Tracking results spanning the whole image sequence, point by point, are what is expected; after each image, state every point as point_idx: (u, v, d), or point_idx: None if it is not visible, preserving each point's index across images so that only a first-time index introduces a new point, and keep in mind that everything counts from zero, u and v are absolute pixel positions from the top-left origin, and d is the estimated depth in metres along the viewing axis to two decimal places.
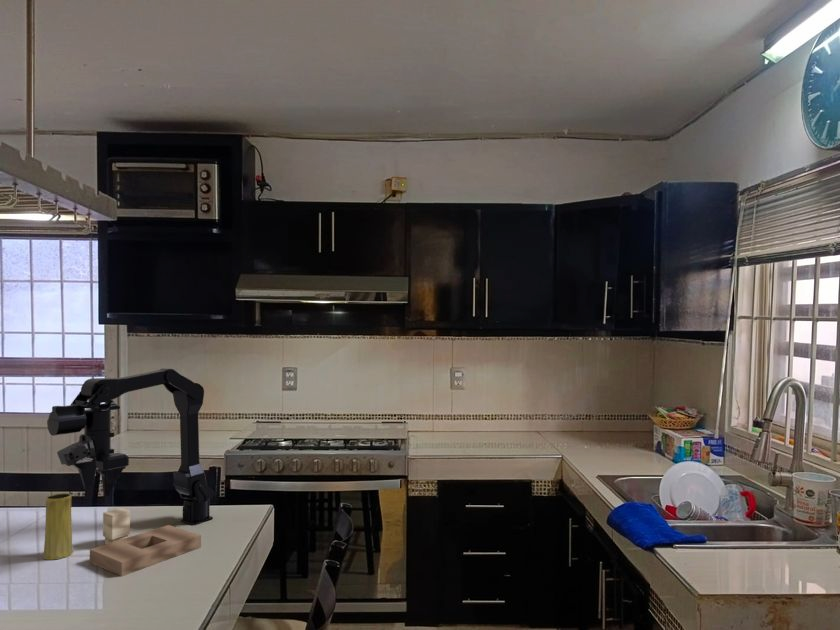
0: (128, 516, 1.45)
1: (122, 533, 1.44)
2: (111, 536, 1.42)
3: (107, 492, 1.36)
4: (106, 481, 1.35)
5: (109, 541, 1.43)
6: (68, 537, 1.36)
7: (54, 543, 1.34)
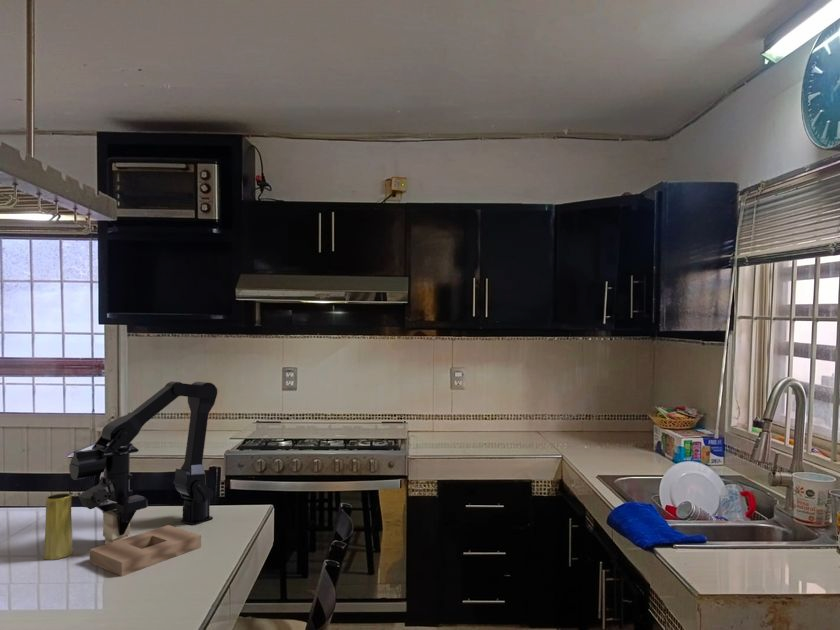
0: None
1: None
2: (111, 536, 1.42)
3: (121, 531, 1.43)
4: (121, 521, 1.42)
5: (109, 541, 1.43)
6: (68, 537, 1.36)
7: (54, 543, 1.34)
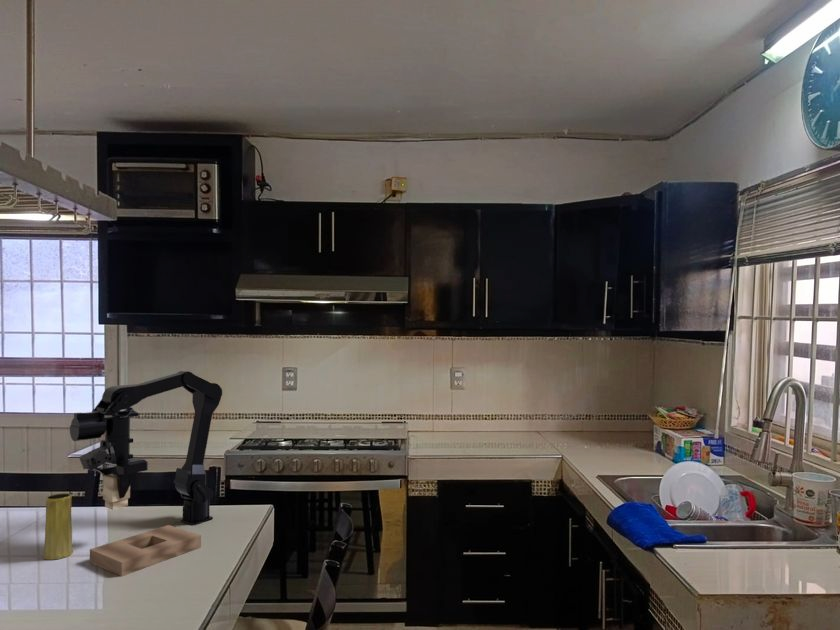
0: None
1: None
2: (111, 499, 1.42)
3: (122, 494, 1.43)
4: (121, 484, 1.42)
5: (109, 504, 1.43)
6: (68, 537, 1.36)
7: (54, 543, 1.34)
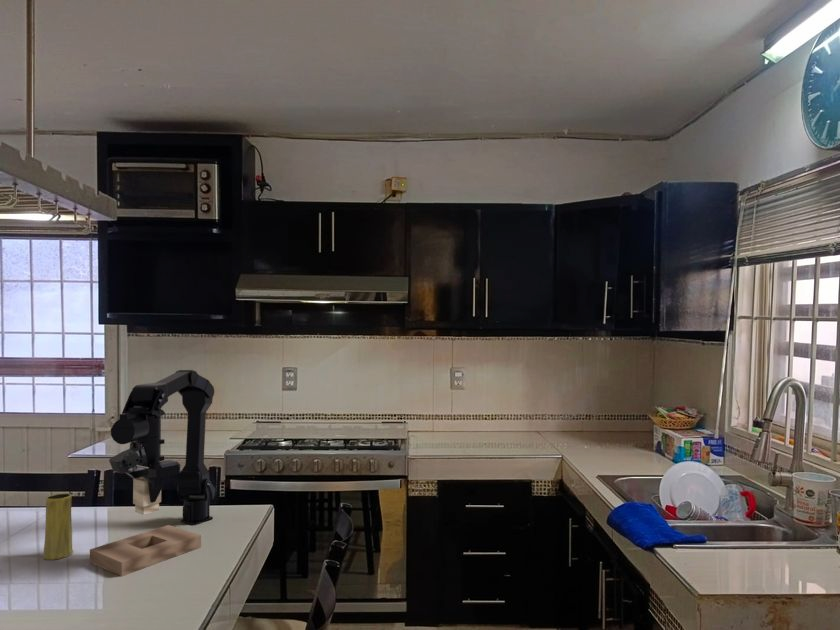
0: None
1: None
2: (142, 503, 1.34)
3: (153, 498, 1.35)
4: (153, 487, 1.35)
5: (140, 509, 1.35)
6: (68, 537, 1.36)
7: (54, 543, 1.34)
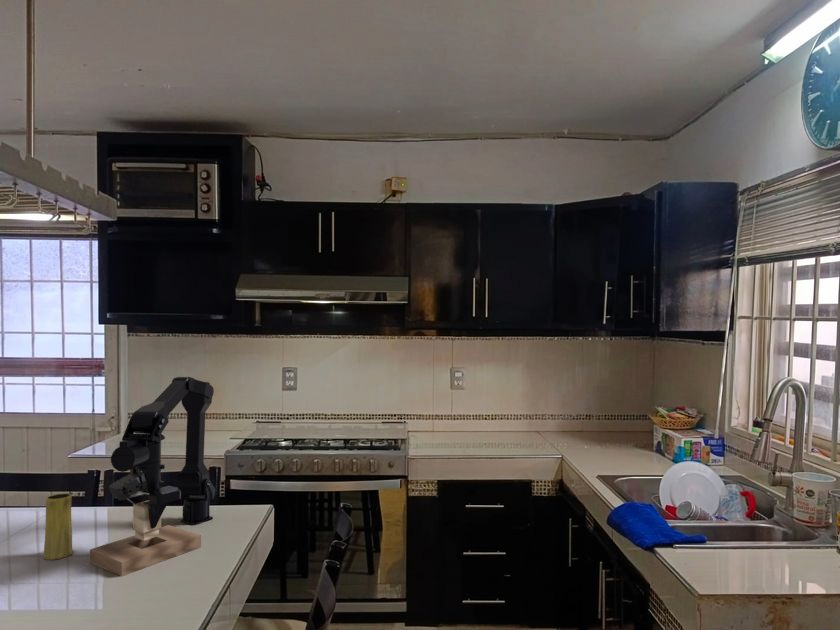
0: None
1: None
2: (142, 529, 1.34)
3: (153, 524, 1.35)
4: (153, 513, 1.34)
5: (140, 534, 1.35)
6: (68, 537, 1.36)
7: (54, 543, 1.34)
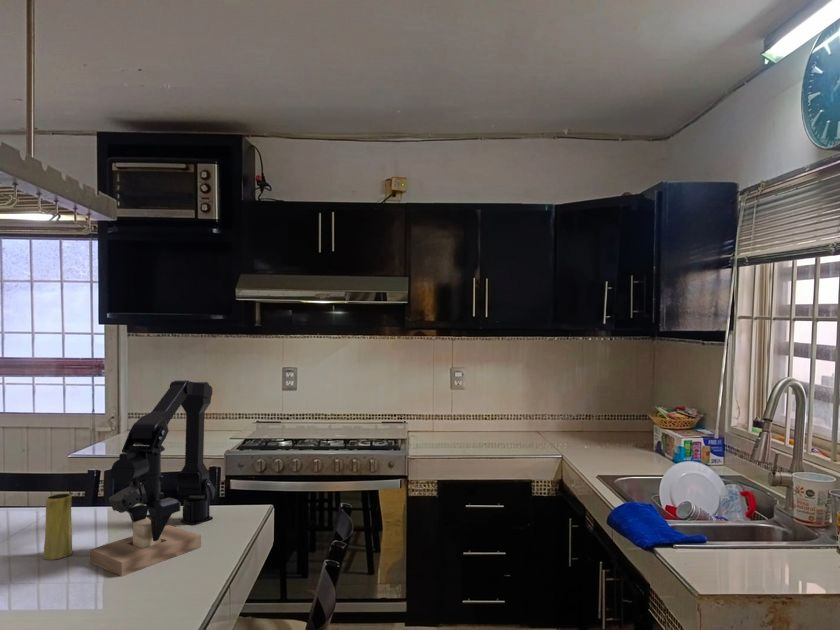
0: None
1: (153, 544, 1.36)
2: (142, 547, 1.34)
3: (156, 537, 1.34)
4: (155, 526, 1.34)
5: None
6: (68, 537, 1.36)
7: (54, 543, 1.34)
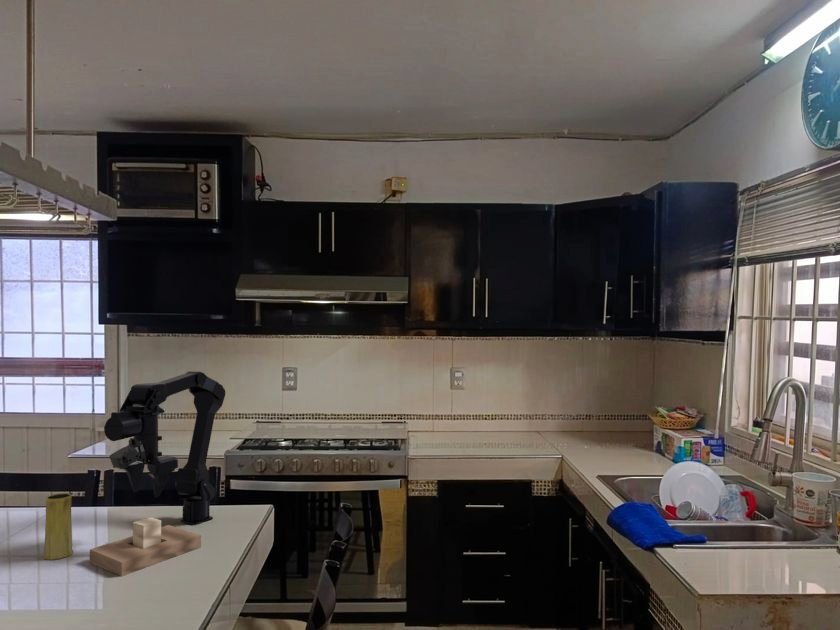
0: (159, 526, 1.37)
1: (153, 544, 1.36)
2: (142, 547, 1.34)
3: (157, 493, 1.41)
4: (157, 483, 1.40)
5: None
6: (68, 537, 1.36)
7: (54, 543, 1.34)
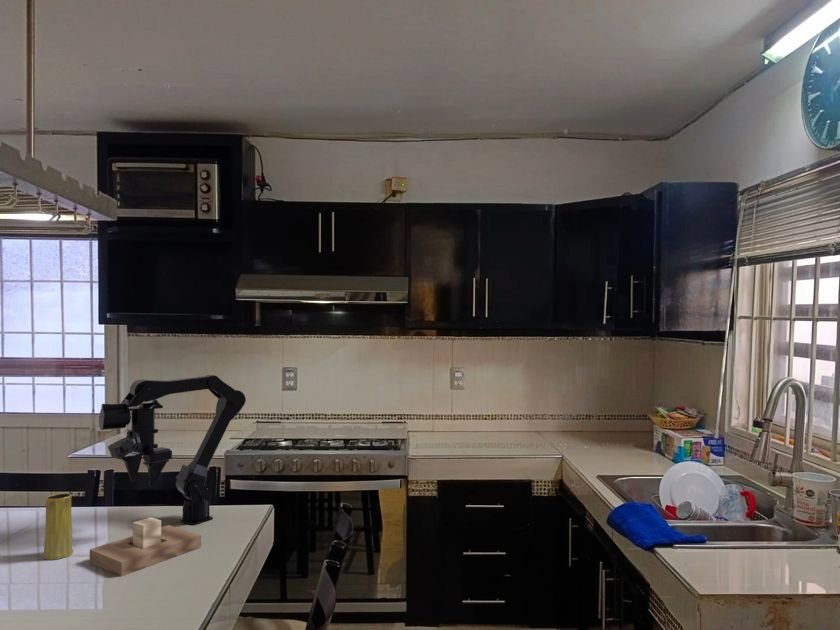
0: (159, 526, 1.37)
1: (153, 544, 1.36)
2: (142, 547, 1.34)
3: (152, 483, 1.50)
4: (152, 473, 1.49)
5: None
6: (68, 537, 1.36)
7: (54, 543, 1.34)
